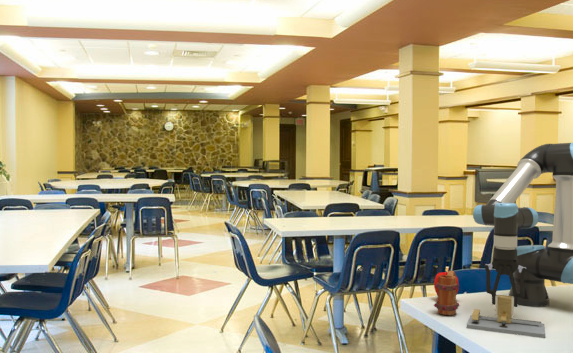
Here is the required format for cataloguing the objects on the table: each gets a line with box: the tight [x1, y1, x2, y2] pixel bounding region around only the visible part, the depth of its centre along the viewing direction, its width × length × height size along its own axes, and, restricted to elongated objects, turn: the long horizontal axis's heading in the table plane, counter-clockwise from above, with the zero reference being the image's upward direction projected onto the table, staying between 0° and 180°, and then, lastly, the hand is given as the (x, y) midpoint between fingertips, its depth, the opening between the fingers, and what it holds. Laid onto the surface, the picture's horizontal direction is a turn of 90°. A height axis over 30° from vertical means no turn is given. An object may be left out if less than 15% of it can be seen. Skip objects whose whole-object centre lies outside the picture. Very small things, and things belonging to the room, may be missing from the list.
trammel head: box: [496, 294, 513, 326], centre depth 180 cm, size 4×9×8 cm, turn 155°
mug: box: [433, 270, 460, 316], centre depth 199 cm, size 15×8×15 cm, turn 148°
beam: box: [471, 308, 542, 327], centre depth 179 cm, size 22×7×3 cm, turn 65°
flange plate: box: [466, 314, 546, 339], centre depth 180 cm, size 24×13×1 cm, turn 65°
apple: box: [433, 271, 460, 296], centre depth 217 cm, size 10×10×12 cm
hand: (504, 314), depth 182 cm, fingers closed on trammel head, 4 cm apart
